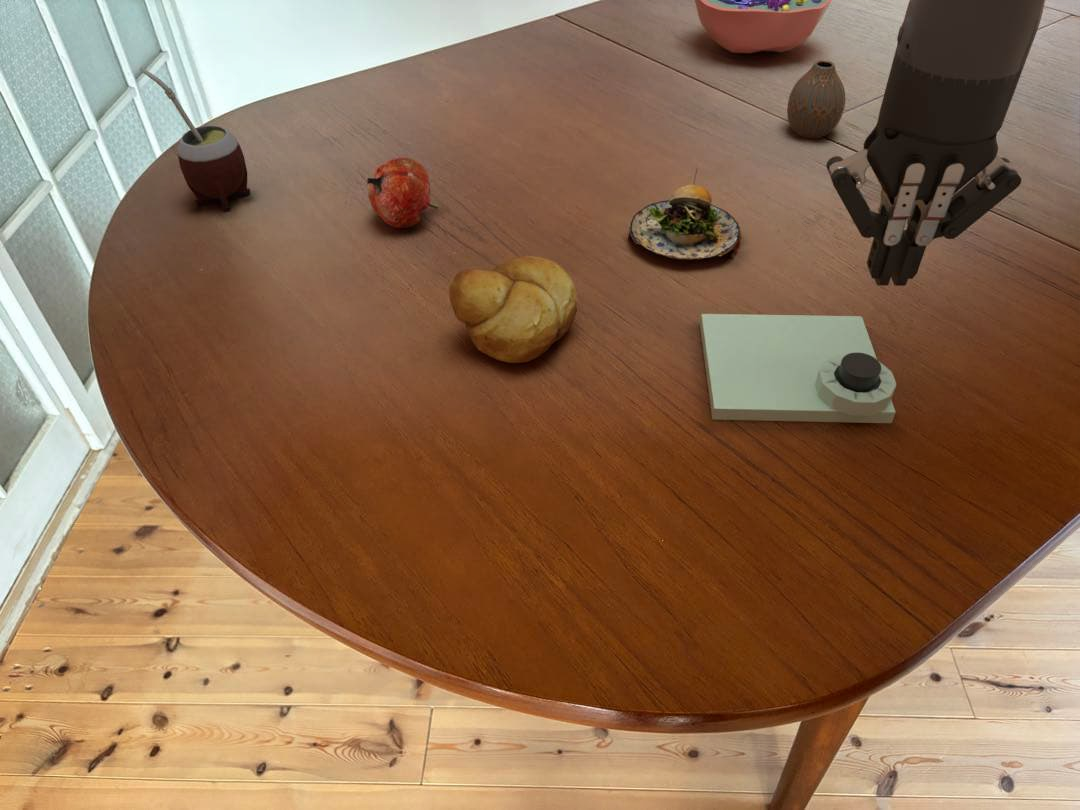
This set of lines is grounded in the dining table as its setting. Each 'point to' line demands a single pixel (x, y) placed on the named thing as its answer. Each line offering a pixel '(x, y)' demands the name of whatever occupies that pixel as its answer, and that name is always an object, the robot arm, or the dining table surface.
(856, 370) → the button
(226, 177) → the mate gourd
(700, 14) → the cell model
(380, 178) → the pomegranate
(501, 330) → the bread roll
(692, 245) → the burger
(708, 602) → the dining table surface
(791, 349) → the scale
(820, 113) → the vase
